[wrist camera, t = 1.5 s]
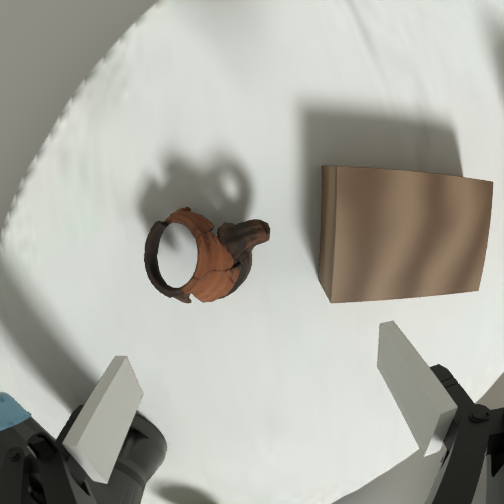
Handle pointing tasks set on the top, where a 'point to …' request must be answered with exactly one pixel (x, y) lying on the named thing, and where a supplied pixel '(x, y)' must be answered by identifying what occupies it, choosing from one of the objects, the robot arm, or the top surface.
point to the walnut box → (401, 233)
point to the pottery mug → (208, 255)
